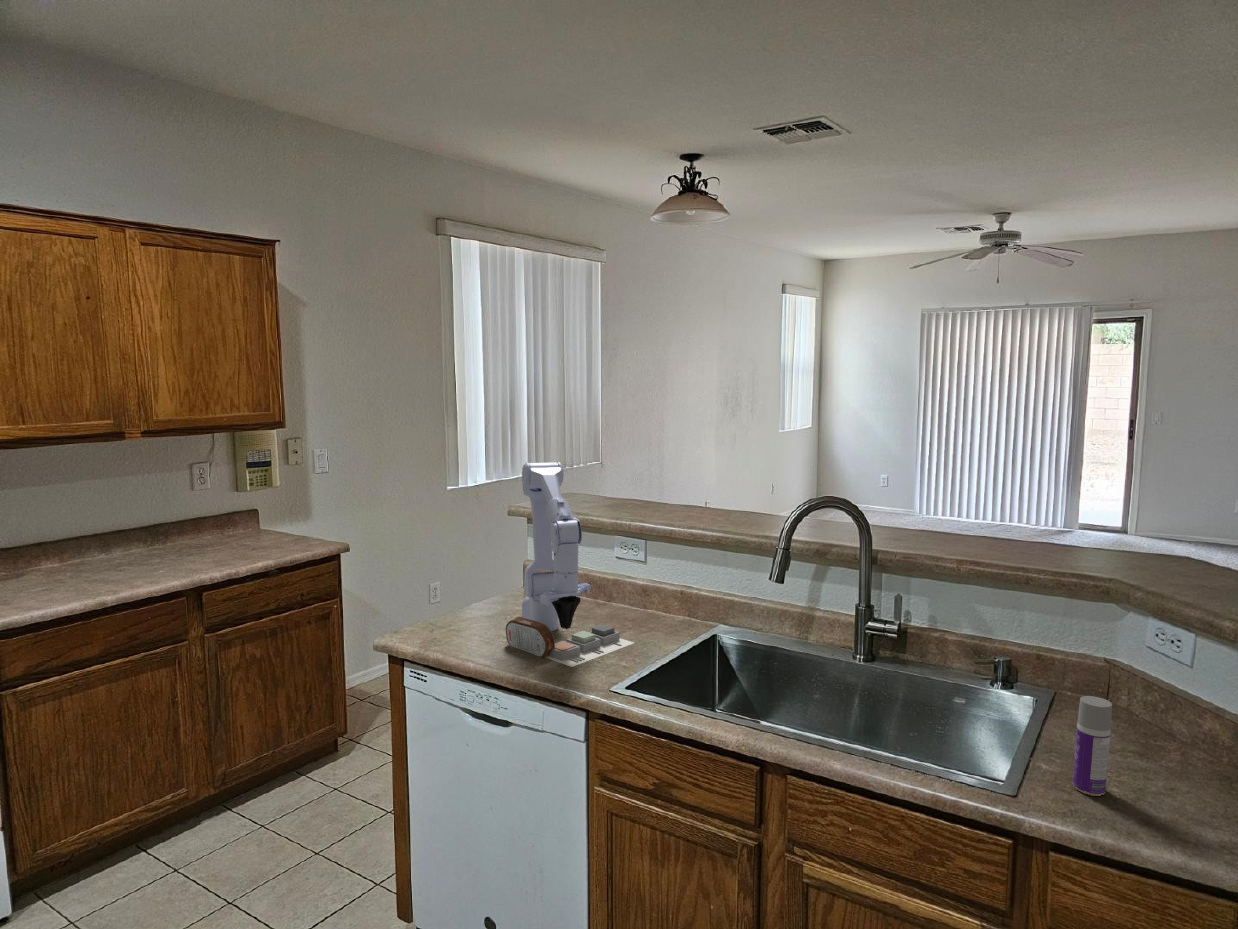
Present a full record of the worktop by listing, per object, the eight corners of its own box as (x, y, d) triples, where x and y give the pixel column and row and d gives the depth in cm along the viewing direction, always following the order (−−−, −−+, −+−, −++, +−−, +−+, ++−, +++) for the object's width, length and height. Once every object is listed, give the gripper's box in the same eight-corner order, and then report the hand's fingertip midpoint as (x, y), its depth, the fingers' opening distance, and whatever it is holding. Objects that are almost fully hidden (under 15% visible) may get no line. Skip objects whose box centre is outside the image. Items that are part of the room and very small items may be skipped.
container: (1065, 782, 130) (1072, 695, 128) (1092, 781, 130) (1099, 695, 129) (1084, 797, 125) (1092, 707, 124) (1112, 796, 126) (1120, 707, 124)
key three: (550, 654, 184) (550, 646, 183) (562, 650, 187) (562, 642, 186) (562, 658, 181) (562, 650, 181) (574, 654, 184) (574, 645, 184)
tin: (556, 659, 183) (554, 624, 182) (546, 663, 180) (544, 628, 179) (514, 646, 193) (512, 613, 192) (504, 650, 190) (502, 616, 189)
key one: (591, 635, 194) (591, 627, 194) (602, 631, 197) (602, 624, 197) (603, 639, 191) (603, 631, 191) (614, 635, 194) (614, 627, 194)
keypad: (537, 658, 184) (537, 646, 184) (600, 636, 200) (600, 624, 200) (572, 671, 176) (572, 658, 176) (634, 646, 193) (635, 635, 193)
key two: (571, 642, 189) (571, 634, 189) (583, 638, 192) (583, 630, 192) (583, 646, 186) (583, 638, 186) (595, 642, 189) (595, 634, 189)
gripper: (555, 579, 174) (554, 639, 176) (599, 568, 185) (599, 624, 187) (533, 574, 179) (533, 631, 180) (578, 563, 190) (577, 617, 191)
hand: (565, 627), depth 184 cm, fingers closed
